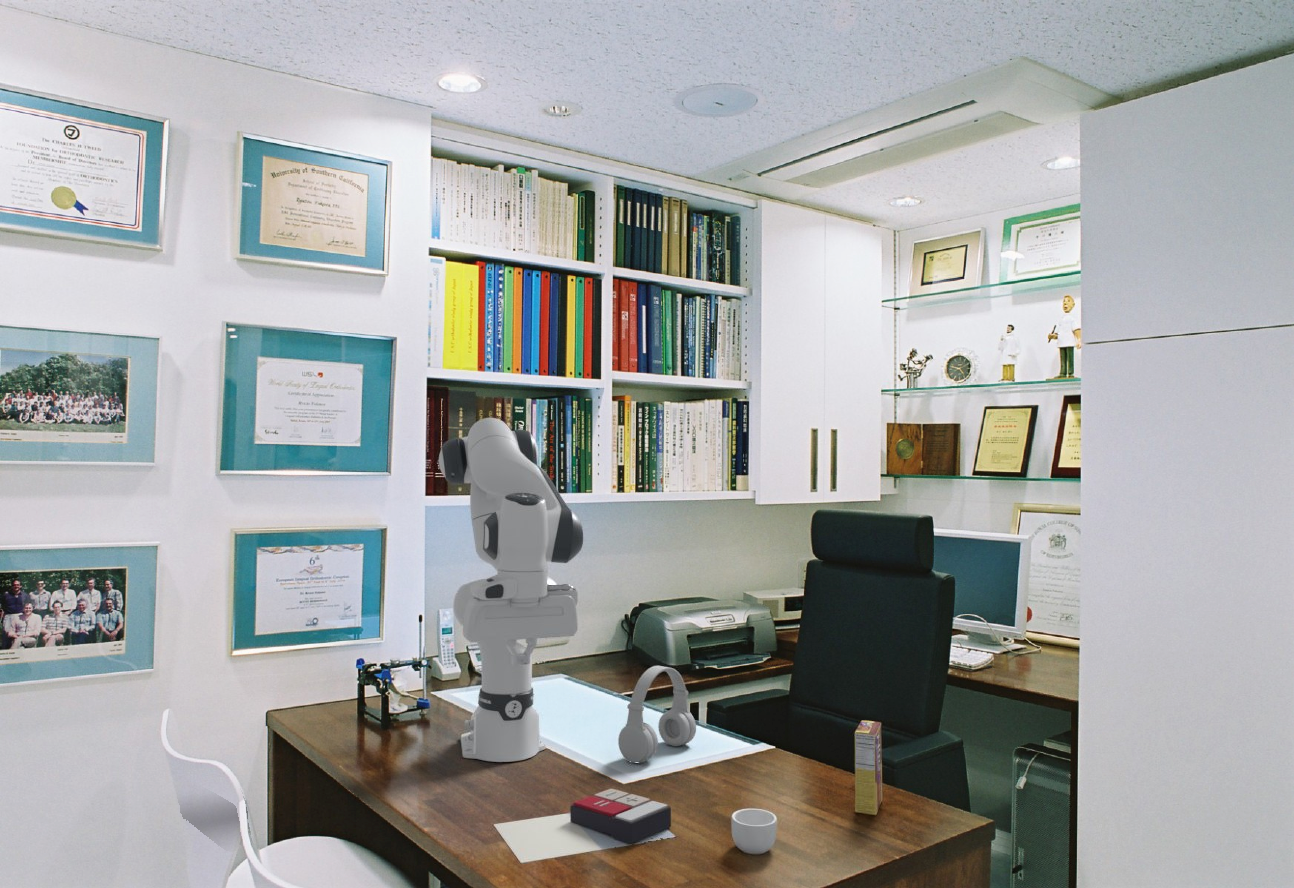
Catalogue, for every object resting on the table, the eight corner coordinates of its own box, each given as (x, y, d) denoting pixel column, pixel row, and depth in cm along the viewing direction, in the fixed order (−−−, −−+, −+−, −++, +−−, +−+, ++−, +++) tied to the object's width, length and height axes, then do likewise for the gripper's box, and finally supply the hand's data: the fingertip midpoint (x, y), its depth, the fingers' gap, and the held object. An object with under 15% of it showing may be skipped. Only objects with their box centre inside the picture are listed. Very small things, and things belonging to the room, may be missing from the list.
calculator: (610, 785, 173) (671, 801, 164) (611, 808, 173) (672, 826, 163) (569, 800, 165) (630, 819, 155) (569, 825, 165) (631, 844, 155)
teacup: (766, 862, 150) (767, 829, 150) (723, 852, 154) (724, 820, 154) (787, 840, 159) (787, 809, 159) (745, 831, 162) (746, 801, 163)
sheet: (493, 825, 163) (493, 824, 163) (636, 804, 175) (636, 803, 175) (521, 863, 148) (521, 862, 148) (676, 837, 159) (676, 836, 159)
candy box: (860, 796, 181) (861, 719, 181) (882, 800, 179) (883, 721, 180) (852, 812, 173) (854, 730, 173) (876, 815, 171) (877, 733, 171)
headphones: (667, 739, 217) (669, 657, 217) (697, 746, 212) (699, 662, 212) (615, 760, 200) (617, 671, 201) (647, 768, 195) (648, 677, 196)
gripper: (571, 581, 169) (570, 656, 168) (461, 585, 160) (459, 664, 160) (583, 585, 163) (582, 663, 163) (470, 590, 154) (468, 672, 154)
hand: (520, 664), depth 161 cm, fingers closed
